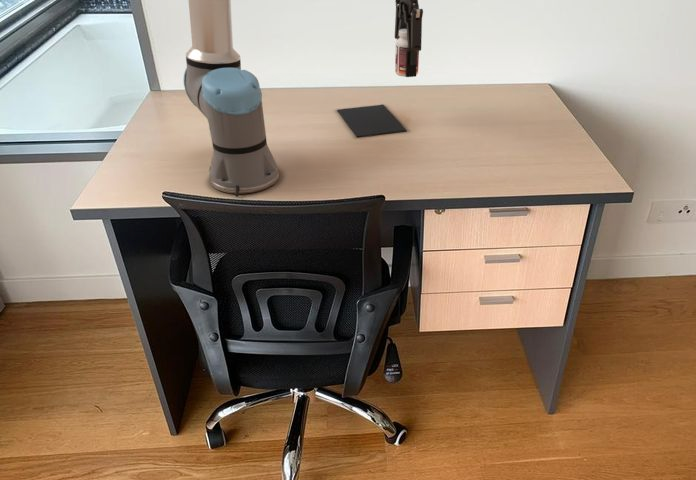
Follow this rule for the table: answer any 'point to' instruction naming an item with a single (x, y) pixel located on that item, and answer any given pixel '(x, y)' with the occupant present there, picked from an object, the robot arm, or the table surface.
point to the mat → (371, 120)
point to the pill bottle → (402, 54)
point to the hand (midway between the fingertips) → (406, 72)
